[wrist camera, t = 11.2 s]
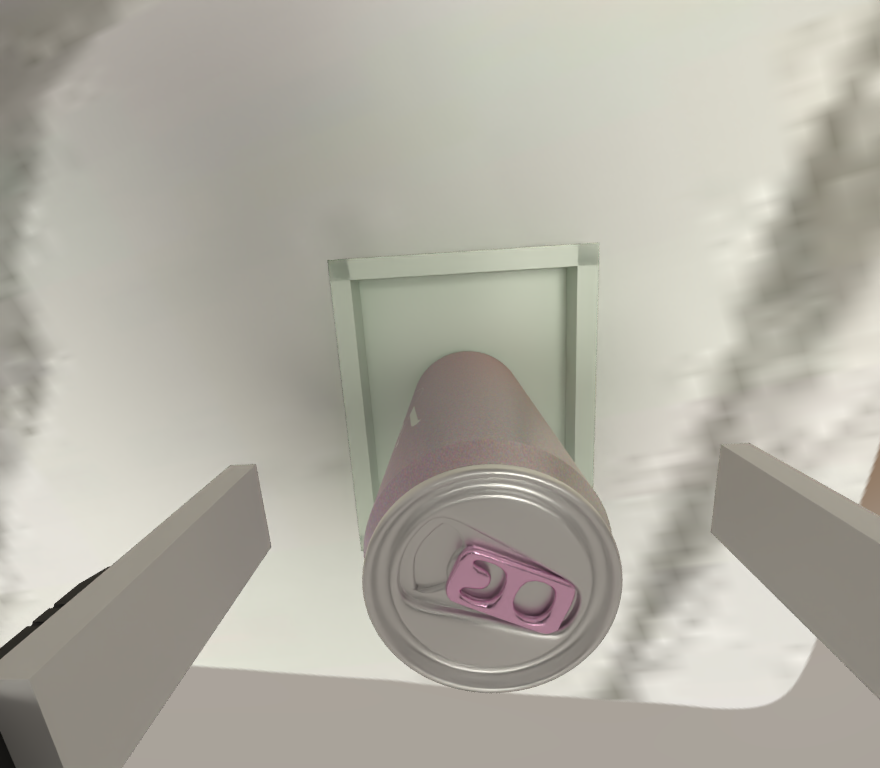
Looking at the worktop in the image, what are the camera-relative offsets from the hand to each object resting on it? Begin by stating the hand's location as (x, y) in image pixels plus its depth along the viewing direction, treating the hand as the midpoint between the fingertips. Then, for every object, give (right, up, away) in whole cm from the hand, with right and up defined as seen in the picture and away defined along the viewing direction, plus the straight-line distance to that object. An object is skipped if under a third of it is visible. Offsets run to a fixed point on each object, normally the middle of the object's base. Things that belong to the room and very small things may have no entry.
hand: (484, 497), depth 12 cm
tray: (0, +2, +12) cm, 12 cm away
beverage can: (0, +2, +12) cm, 12 cm away
